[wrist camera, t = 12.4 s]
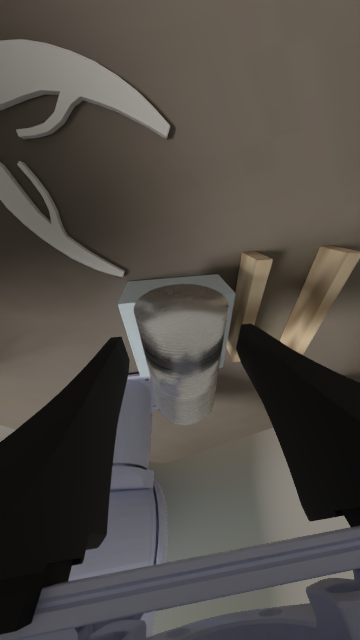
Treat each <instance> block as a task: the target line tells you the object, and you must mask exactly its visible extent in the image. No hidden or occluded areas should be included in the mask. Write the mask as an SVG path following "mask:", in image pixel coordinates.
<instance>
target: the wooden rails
mask: <svg viewBox="0 0 360 640" xmlns="http://www.w3.org/2000/svg"><path fill="white" fill-rule="evenodd" d="M359 258H360V251H356V250H351V249H346V248H341V247H337V246H323V247H320V248H319V251H318V253H317V255H316V258H315V260H314V262H313V265H312V267H311V269H310V272H309V274H308V276H307V278H306V281H305V283H304V285H303V288H302V290H301V292H300V295H299V297H298V299H297V302H296V304H295V306H294V308H293V311H292V313H291V315H290V318H289V320H288V322H287V325H286V327H285V329H284V332H283V334H282V336H281V339H280V341H281V342H282V343H283V344H285V345H286V346H288V347H289V348H291V349H293V350H295V351H296V352H298V353H300V354H303V353H304V352H305V350H306V348H307V347H308V345H309V343H310V342H311V340H312V338H313V337H314V335H315V333H316V331H317V330H318V328H319V326H320V325H321V323H322V321H323V320H324V318H325V316H326V314H327V313H328V311H329V309H330V308H331V306H332V304H333V303H334V301H335V299H336V298H337V296H338V294H339V292H340V291H341V289H342V287H343V286H344V284H345V282H346V281H347V279H348V277H349V275H350V274H351V272H352V270H353V269H354V267H355V265H356V264H357V262H358V260H359ZM272 261H273V259H272V258H270V257H267V256H265V255H263V254H260V253H258V252H242V256H241V262H240V268H239V273H238V279H237V285H236V291H235V293H236V294H235V300H234V306H233V311H232V317H231V323H230V329H229V334H228V340H227V346H226V347H227V350H228V352H229V354H230V356H231V358H232V360H233V362H240V358H239V356H238V353H237V350H236V345H237V341H238V336H239V332H240V327H241V324H250V323H251V324H253V325H254V324H255V321H256V317H257V314H258V310H259V307H260V303H261V300H262V296H263V293H264V289H265V286H266V282H267V279H268V275H269V272H270V268H271V265H272Z"/></svg>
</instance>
